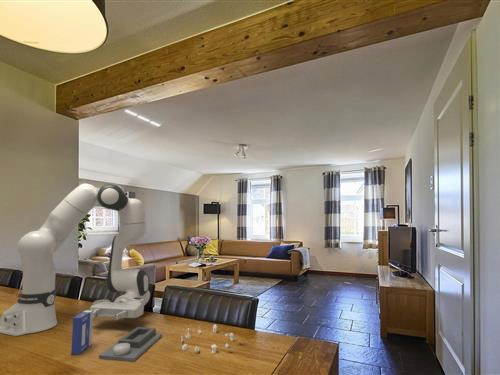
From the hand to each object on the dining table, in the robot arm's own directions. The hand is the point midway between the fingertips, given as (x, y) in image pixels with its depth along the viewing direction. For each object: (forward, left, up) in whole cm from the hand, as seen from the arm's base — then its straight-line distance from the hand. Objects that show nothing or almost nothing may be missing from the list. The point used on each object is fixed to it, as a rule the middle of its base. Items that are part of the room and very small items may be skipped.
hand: (104, 316), depth 115 cm
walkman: (0, -12, -7) cm, 14 cm away
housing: (+16, -7, -7) cm, 19 cm away
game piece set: (+40, +1, -8) cm, 41 cm away
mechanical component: (-20, +27, -8) cm, 35 cm away
